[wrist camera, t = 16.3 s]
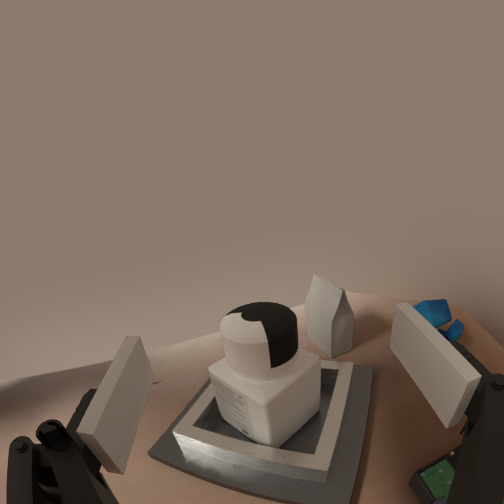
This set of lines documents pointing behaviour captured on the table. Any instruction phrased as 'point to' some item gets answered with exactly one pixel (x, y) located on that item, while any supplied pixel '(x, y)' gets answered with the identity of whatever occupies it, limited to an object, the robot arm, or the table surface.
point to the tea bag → (329, 318)
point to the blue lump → (440, 317)
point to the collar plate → (288, 454)
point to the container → (265, 374)
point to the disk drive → (436, 479)
